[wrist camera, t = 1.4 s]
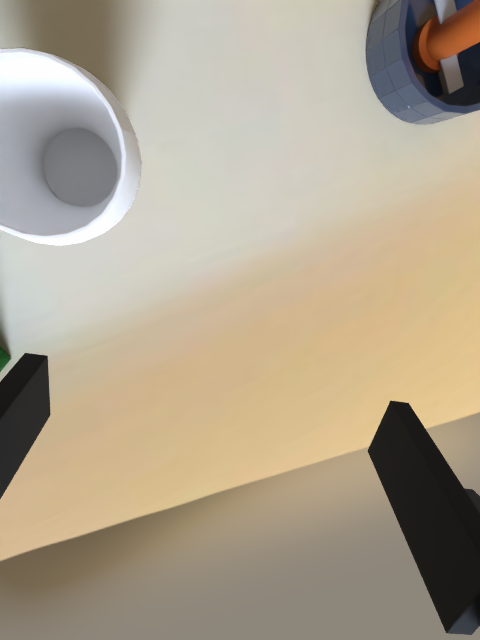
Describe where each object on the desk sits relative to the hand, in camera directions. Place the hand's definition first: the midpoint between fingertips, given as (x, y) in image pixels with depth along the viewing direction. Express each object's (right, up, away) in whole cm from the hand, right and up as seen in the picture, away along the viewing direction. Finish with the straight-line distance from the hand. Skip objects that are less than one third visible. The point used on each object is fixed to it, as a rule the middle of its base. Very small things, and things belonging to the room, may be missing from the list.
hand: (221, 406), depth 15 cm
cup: (-13, +17, +20) cm, 29 cm away
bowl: (+19, +29, +22) cm, 41 cm away
